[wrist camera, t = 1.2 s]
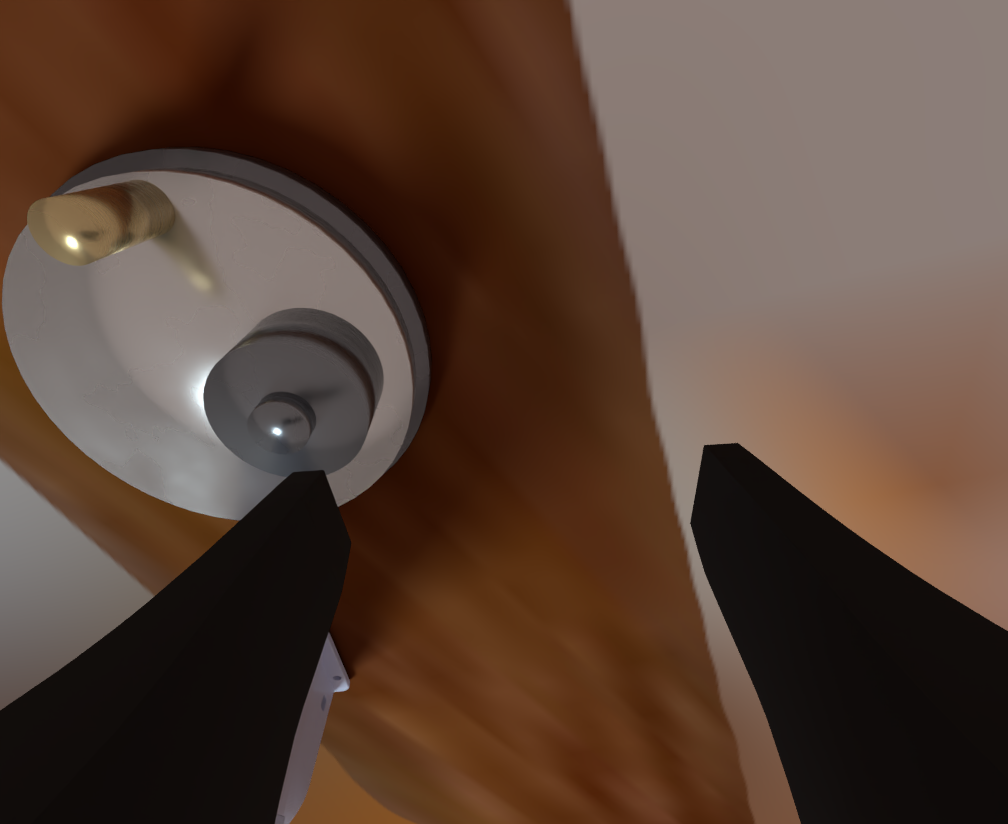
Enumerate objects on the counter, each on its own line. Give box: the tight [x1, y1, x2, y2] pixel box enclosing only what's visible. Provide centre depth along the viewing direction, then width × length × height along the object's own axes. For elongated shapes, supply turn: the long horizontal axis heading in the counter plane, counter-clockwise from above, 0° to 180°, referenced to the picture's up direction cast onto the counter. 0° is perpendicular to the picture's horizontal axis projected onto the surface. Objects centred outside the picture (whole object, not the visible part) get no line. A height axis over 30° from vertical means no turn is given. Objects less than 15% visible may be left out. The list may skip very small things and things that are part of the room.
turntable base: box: [50, 147, 432, 473], centre depth 20 cm, size 15×15×1 cm
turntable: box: [2, 167, 416, 520], centre depth 17 cm, size 14×14×5 cm
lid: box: [203, 308, 384, 477], centre depth 17 cm, size 5×5×4 cm
